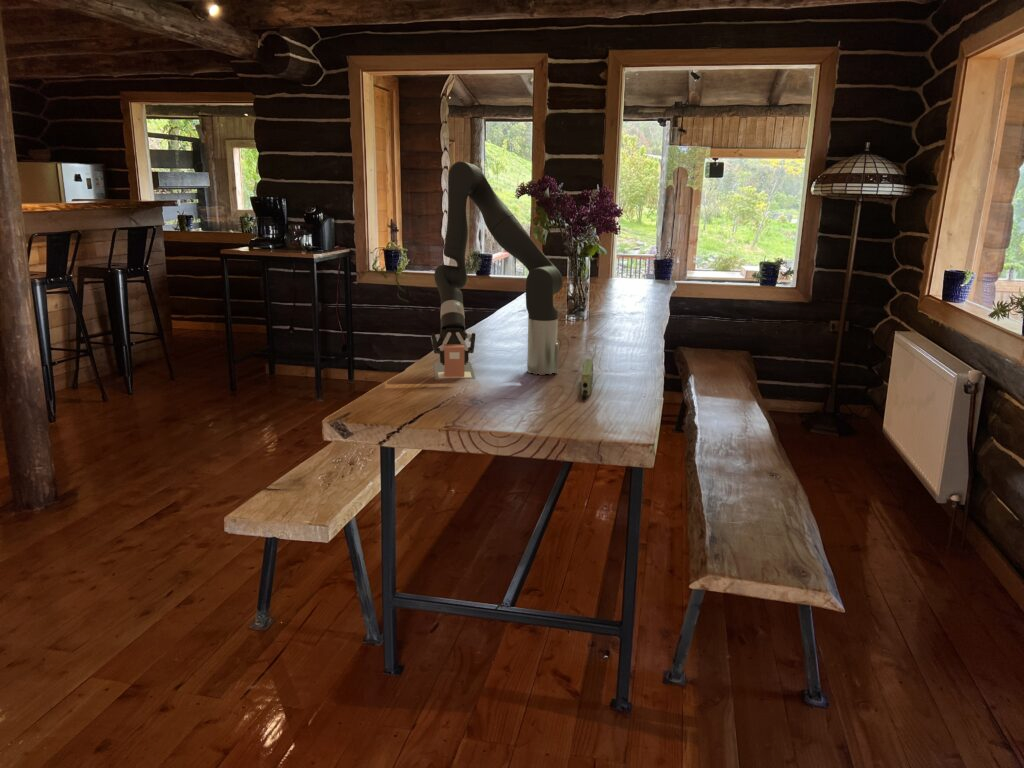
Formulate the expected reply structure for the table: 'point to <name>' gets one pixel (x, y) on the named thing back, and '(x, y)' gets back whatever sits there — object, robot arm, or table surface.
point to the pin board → (440, 376)
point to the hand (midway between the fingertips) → (454, 363)
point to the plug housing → (454, 360)
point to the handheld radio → (586, 378)
